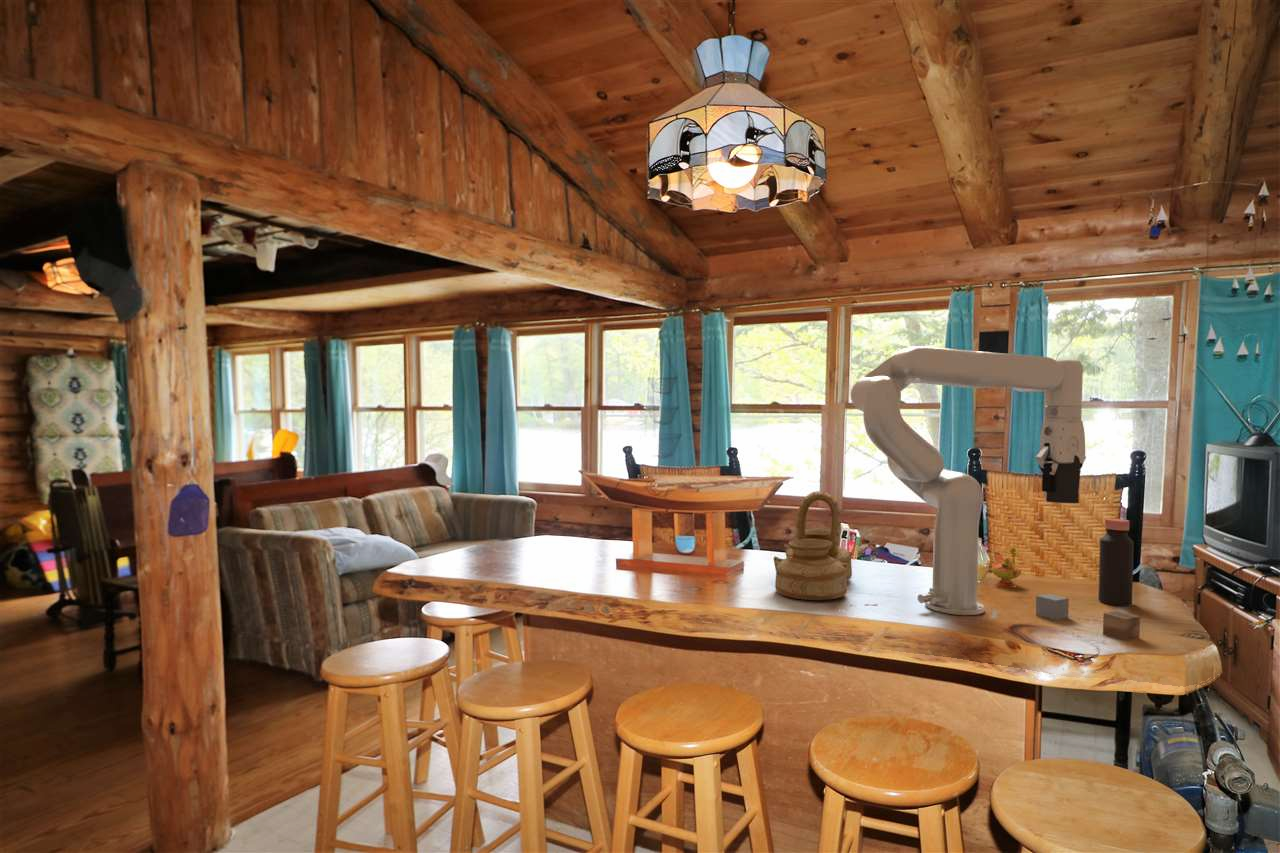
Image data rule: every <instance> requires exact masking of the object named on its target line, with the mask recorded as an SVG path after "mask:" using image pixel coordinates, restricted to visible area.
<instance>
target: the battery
mask: <svg viewBox="0 0 1280 853" xmlns="http://www.w3.org/2000/svg"><path fill="white" fill-rule="evenodd" d="M1047 461H1053V460H1052V459H1050V458H1048V460H1047ZM1049 466H1050V467H1051V466H1052V465H1049ZM1080 470H1081V469H1080V459H1079V457H1078V456H1077V455H1075V456H1074V462H1073V463H1071V464H1060V463H1059V464H1058V466H1057V469H1056V472H1055V474H1054V475H1057V491H1056V492H1054V493H1053V492H1045V491H1044V492H1045V493H1044V495H1045V496H1044V501H1045V502H1046V503H1056V504H1079V501H1080V500H1079V499H1080V498H1079V496H1080V495H1079V494H1080V492H1079V491H1080V481H1081V473H1080Z"/></svg>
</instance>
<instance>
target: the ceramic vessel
mask: <svg viewBox="0 0 1280 853" xmlns="http://www.w3.org/2000/svg"><path fill="white" fill-rule="evenodd" d="M817 501H822V502H824V503H827V505H828V507H829V509H830V513H831V524H830V526H831V527H830V529H824V528H807V529H806V522H807V514H808V510H809V509H810V506H811V505H812V504H813V503H815V502H817ZM841 515H842V514H841V507H840V505H839V502H838V500H837V499H836V498H835V497H834V496H833V495H831V494H830V493H829V492H826V491H822V490H821V491H817V490H816V491H813V492H810V493H809V494H807V495H806V496H805V497H804V498H803V499H802V500H801V502H800V504H799V507H798V510H797V514H796V520H795V521H796V523H795V536H794V540H790V541H789V542H788V544H786V543H785V544H784V545H783V546H784V548H785V556H786V558H780V557H778V556H776V555H775V556H774V557H773V563H774V567H775V568H774V569H775V584H774V588H775V590H776V592H778V593H779V594H781V595H783V596H786V597H788V598H794V599H796V600H797V599H799V600H807V601H809V600H810V601H825V600H834V599H839V598H841V597H844V596H845V595H846V594H847V592H848V585H847V581H849V580H850V579H852V574H853V570H852V569H853V568H852V557H853V552H852V551H849V550H847V549H845V548H844V547H842V546H839V542H840V541H839V540H840V533H841V523H842V516H841Z"/></svg>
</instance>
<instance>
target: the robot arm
mask: <svg viewBox="0 0 1280 853" xmlns="http://www.w3.org/2000/svg"><path fill="white" fill-rule="evenodd" d="M1083 369H1084V367H1083V364H1082V362H1080V361H1078V360H1075V359H1074V360H1072V359H1070V360H1069V359H1062V360H1060V359H1058V360H1056V359H1054V358H1051V357H1047V356H1041V355H1030V354H1020V353H1019V354H1018V353H1017V354H1016V353H1001V352H990V351H980V350H979V351H978V350H976V351H975V350H968V349H967V350H966V349H954V348H947V347H946V348H945V347H936V346H924V345H917V346H910V347H907V348H902V349H899V350H898V351H896V352H895V353H893V354H891V355H890V356H889V357H887V358H886V359H885V360H884V361H882V362H881V363H880V364H878V365H877V366H876V367H874V368H873V369H871V370H870V371H868V373H866V374H864V375H863V376H862V377H860V378H859V379H858V380H857V381H856V382H855V383H854V385H853V386H852V388H851V392H850V400H851V403H852V404H853V406H854V407H855V408H856V409H858V410H859V411H860V412H863V416H862V417H863V424H864V428H865V432H866V435H867V436H868V438H869V440H870V442H872V443H873V445H874V446H875V447H876V448H878V450H879V451H880V452H882V453H883V455H885V457H887V460H886V461H887V464H888V468H889V470H890V472H891V473H892V474H893V476H895V477H896V478H897V479H898V480H899V481H900V482H901V483H902V484H904V485H905V486H906V487H907V488H908V489H909V490H911V491H912V492H913V494H915V495H917V496H918V497H919V498H920V499H921V500H922V501H923V502H925V503H926V504H928V505H929V506H931V507H933V508H935V509H936V508H937V511H936V515H935V519H934V523H933V533H932V534H933V536H932V539H933V543H932V544H933V546H932V548H933V549H932V550H933V551H932V552H933V553H932V587H929V591H928V592H927V593H921V594H918V595H917V601H918V603H920V604H923V603H924V605H925V607H926V608H928V609H930V610H932V611H935V612H938V613H943V614H949V615H956V616H976V615H980V614H983V613H984V612H985V605H984V604H982V603H981V602H978V580H979V579H978V577H979V576H978V574H979V573H978V572H979V570H978V569H979V528H980V518H981V512H982V509H983V508H982V507H983V503H984V502H983V501H984V493H983V489H982V487H981V484H980V483H979V482H978V480H977V479H976V478H975V477H973V476H971V475H970V474H967V473H965V472H962V471H961V472H960V471H954V470H950V469H947V468H946V467H945V463H944V459H943V456H942V454H941V453H940V451H939V450H938V449H937V448H936V447H935V446H933V445H932V444H931V443H929V442H928V441H927V440H926V439H925V438H923V436H921V435H920V434H919V433H917V431H915V430H914V429H913V428H912V427H911V426H910V424H908V423H907V422H906V421H905V420H904V418H903V416H902V413H901V401H902V392H903V391H904V389H906V388H907V387H908V386H910V385H911V384H926V385H936V386H946V387H947V386H948V387H958V388H963V389H965V388H968V389H969V388H970V389H986V388H988V389H989V388H1009V389H1010V388H1011V389H1013V390H1014V391H1017V392H1022V393H1034V392H1044V396H1043V422H1042V427H1041V433H1040V441H1039V442H1040V443H1039V452H1038V454H1037V455H1036V456H1035V462H1036V463H1037V464H1038V468H1039V469H1040V474H1041V475H1042V478H1041V479H1042V481H1041V491H1042V492H1053V493H1054V492H1056V491H1057V475H1054V474H1055V472H1056V469H1057V466H1058V464H1059V463H1060V464H1071V463H1073V462H1074V456H1075V455H1077V456H1078V457H1079V459H1080V474H1081V473H1082V471H1081V470H1082V468H1083V466H1084V462H1085V461H1086V458H1087V456H1086V435H1085V427H1084V426H1085V425H1084V423H1083V420H1082V410H1083V409H1082V408H1083V406H1082V405H1083V376H1084V374H1083V373H1084V372H1083V371H1084V370H1083ZM1048 458H1050V459H1052V460H1053V461H1047V460H1048ZM1049 465H1052V466H1051V467H1050V466H1049Z"/></svg>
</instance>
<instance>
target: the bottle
mask: <svg viewBox="0 0 1280 853" xmlns="http://www.w3.org/2000/svg"><path fill="white" fill-rule="evenodd" d="M1104 528H1105V532H1106V533H1105V534H1104V535H1103V536H1102V537H1101V538H1100V540H1099V561H1098V562H1099V563H1098V564H1099V566H1098V567H1099V568H1098V572H1099V573H1098V601H1099V602H1100V603H1102V604H1106V605H1109V606H1115V607H1117V606H1118V607H1129V606H1131V605H1132V604H1133V588H1134V587H1133V585H1134V584H1133V581H1134V578H1133V576H1134V548H1135V547H1134V544H1135V542H1134V541H1133V539H1131V538H1130V536H1128V533H1129V532H1130V520H1128V519H1124V518H1123V519H1122V518H1113V517H1112V518H1111V517H1110V518H1105V519H1104Z"/></svg>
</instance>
